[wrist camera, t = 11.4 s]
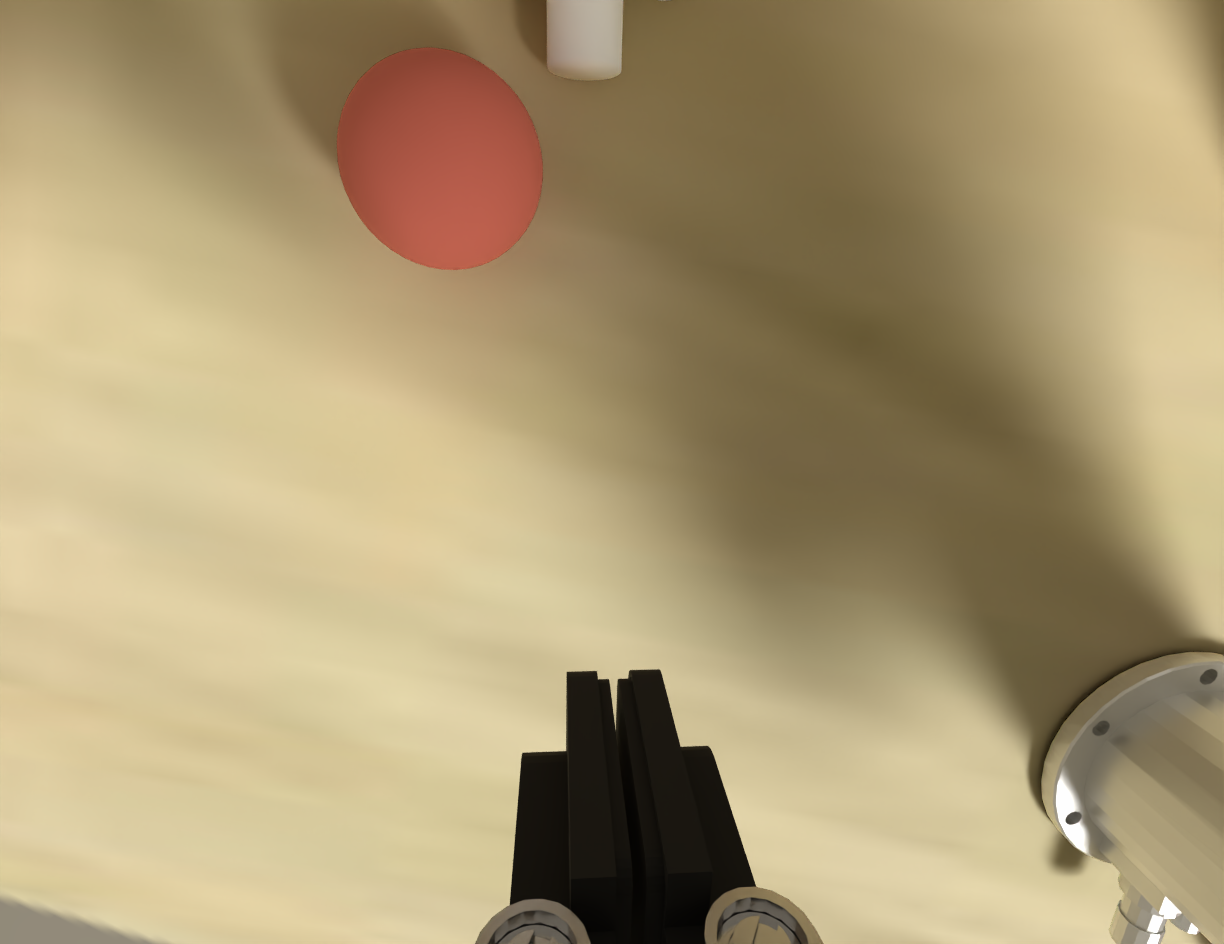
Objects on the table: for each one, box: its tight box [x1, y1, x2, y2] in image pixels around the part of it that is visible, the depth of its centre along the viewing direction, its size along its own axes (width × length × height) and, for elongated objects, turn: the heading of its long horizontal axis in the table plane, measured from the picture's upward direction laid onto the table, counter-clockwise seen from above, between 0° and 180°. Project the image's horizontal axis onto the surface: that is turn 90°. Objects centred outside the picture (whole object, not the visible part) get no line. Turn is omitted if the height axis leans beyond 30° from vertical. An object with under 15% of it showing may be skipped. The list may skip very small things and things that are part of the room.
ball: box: [337, 48, 543, 270], centre depth 19 cm, size 6×6×6 cm
